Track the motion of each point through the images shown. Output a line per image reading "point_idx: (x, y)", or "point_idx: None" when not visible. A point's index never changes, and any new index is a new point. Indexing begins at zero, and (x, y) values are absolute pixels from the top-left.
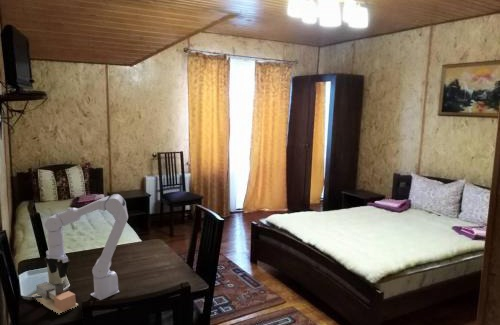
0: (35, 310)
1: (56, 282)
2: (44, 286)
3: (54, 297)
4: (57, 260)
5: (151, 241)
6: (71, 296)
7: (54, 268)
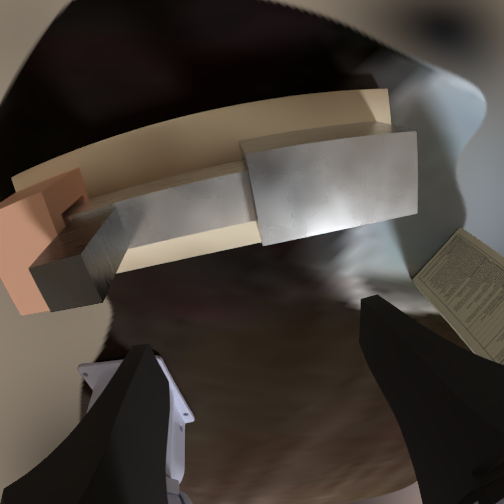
0: (158, 54)
1: (437, 262)
2: (342, 171)
3: (40, 191)
4: (412, 462)
5: (411, 482)
6: (9, 290)
7: (380, 364)
